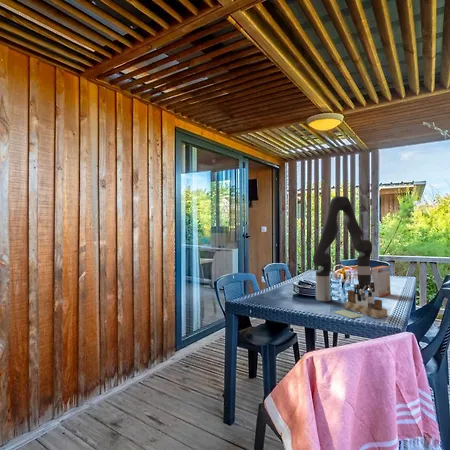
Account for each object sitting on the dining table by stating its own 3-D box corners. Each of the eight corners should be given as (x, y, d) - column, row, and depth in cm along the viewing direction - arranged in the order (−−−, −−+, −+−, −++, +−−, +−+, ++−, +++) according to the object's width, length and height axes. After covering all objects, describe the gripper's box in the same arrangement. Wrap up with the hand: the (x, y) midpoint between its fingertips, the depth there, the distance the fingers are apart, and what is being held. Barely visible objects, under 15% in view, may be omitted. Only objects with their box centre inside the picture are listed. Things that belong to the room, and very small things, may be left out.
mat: (333, 312, 189) (333, 311, 189) (344, 310, 192) (344, 309, 192) (351, 318, 176) (351, 317, 176) (363, 316, 180) (363, 315, 180)
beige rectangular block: (355, 304, 191) (355, 292, 191) (361, 303, 193) (361, 291, 193) (367, 307, 183) (367, 295, 183) (374, 306, 185) (373, 294, 185)
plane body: (344, 308, 198) (344, 290, 198) (354, 306, 201) (353, 289, 201) (377, 318, 176) (376, 298, 176) (387, 316, 179) (386, 297, 179)
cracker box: (383, 293, 235) (382, 265, 235) (391, 294, 230) (390, 266, 230) (371, 295, 228) (371, 267, 228) (379, 297, 223) (378, 268, 223)
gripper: (367, 271, 195) (368, 297, 194) (350, 273, 189) (351, 300, 189) (377, 273, 188) (378, 300, 188) (360, 275, 182) (361, 303, 182)
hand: (364, 300), depth 188 cm, fingers open, 8 cm apart
